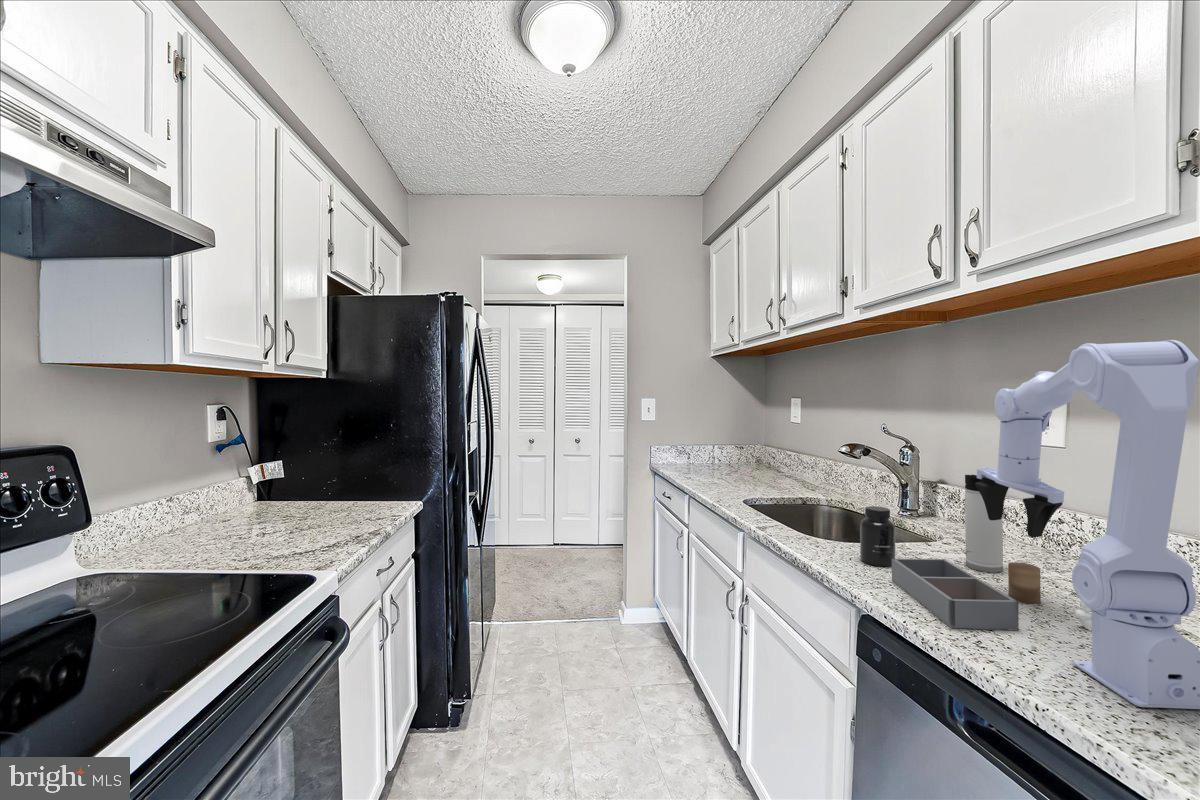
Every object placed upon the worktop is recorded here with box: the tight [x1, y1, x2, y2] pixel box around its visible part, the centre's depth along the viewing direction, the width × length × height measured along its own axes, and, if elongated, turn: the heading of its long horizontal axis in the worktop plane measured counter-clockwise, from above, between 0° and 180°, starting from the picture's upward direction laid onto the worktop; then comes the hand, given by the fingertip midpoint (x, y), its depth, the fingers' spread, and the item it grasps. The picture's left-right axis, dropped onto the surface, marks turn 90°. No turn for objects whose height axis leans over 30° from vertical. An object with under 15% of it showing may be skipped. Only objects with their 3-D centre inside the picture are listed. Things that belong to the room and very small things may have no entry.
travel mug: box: [964, 474, 1004, 574], centre depth 105 cm, size 6×7×20 cm
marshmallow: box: [1073, 600, 1092, 631], centre depth 78 cm, size 5×1×4 cm, turn 68°
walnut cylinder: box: [1007, 561, 1042, 605], centre depth 90 cm, size 4×4×6 cm
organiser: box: [891, 558, 1020, 631], centre depth 89 cm, size 20×10×4 cm, turn 174°
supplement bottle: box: [859, 505, 896, 568], centre depth 110 cm, size 7×7×12 cm
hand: (1014, 527), depth 91 cm, fingers open, 7 cm apart
